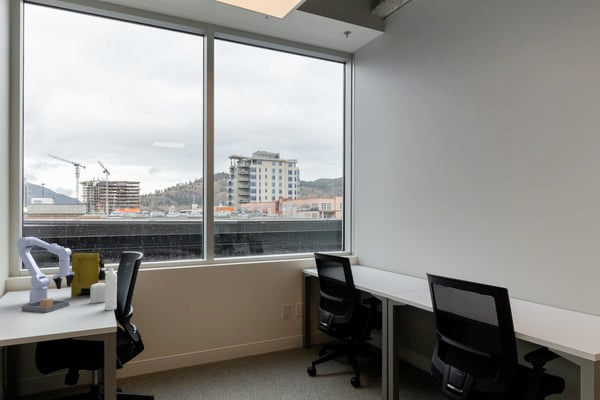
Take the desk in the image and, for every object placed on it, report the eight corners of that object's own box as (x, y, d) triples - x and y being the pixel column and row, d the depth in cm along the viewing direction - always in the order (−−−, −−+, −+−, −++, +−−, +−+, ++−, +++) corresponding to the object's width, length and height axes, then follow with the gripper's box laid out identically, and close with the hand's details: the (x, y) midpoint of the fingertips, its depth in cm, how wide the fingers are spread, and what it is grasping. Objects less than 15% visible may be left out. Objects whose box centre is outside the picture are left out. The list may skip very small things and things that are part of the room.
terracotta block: (40, 308, 226) (40, 299, 226) (46, 306, 230) (46, 298, 230) (46, 308, 225) (47, 300, 225) (52, 306, 229) (52, 298, 229)
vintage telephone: (118, 292, 272) (119, 251, 273) (109, 297, 258) (110, 253, 259) (74, 292, 271) (75, 251, 272) (63, 297, 257) (64, 253, 258)
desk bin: (21, 310, 222) (21, 305, 222) (45, 304, 237) (45, 299, 237) (46, 312, 217) (46, 307, 217) (69, 306, 233) (69, 301, 233)
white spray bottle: (115, 307, 231) (116, 266, 232) (117, 309, 226) (118, 268, 226) (99, 309, 226) (100, 267, 227) (101, 311, 221) (102, 269, 221)
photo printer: (107, 300, 248) (107, 281, 248) (108, 301, 244) (108, 282, 245) (89, 302, 242) (90, 283, 243) (90, 304, 239) (90, 284, 239)
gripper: (59, 268, 235) (59, 290, 235) (78, 265, 249) (77, 285, 249) (50, 268, 237) (50, 289, 236) (69, 265, 251) (69, 285, 250)
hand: (63, 287), depth 243 cm, fingers open, 7 cm apart
